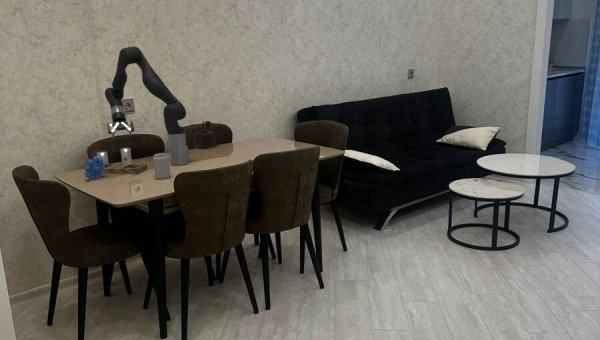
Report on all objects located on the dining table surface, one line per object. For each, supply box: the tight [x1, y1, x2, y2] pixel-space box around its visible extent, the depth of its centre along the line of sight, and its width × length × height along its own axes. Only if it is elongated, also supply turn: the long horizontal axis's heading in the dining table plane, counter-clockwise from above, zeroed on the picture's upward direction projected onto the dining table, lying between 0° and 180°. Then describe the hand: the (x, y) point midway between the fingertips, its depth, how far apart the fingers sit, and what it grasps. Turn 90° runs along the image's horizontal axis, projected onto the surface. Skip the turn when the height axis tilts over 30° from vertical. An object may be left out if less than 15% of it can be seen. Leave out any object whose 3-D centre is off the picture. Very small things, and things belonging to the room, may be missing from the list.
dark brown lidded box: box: [192, 120, 217, 150], centre depth 327 cm, size 16×11×18 cm
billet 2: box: [120, 147, 133, 164], centre depth 281 cm, size 5×5×10 cm
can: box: [152, 152, 171, 180], centre depth 254 cm, size 8×8×12 cm
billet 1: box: [96, 151, 110, 168], centre depth 270 cm, size 5×5×10 cm
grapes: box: [84, 155, 105, 181], centre depth 255 cm, size 12×7×12 cm, turn 146°
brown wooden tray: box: [102, 163, 149, 176], centre depth 269 cm, size 28×11×4 cm, turn 78°
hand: (122, 137), depth 289 cm, fingers open, 8 cm apart
